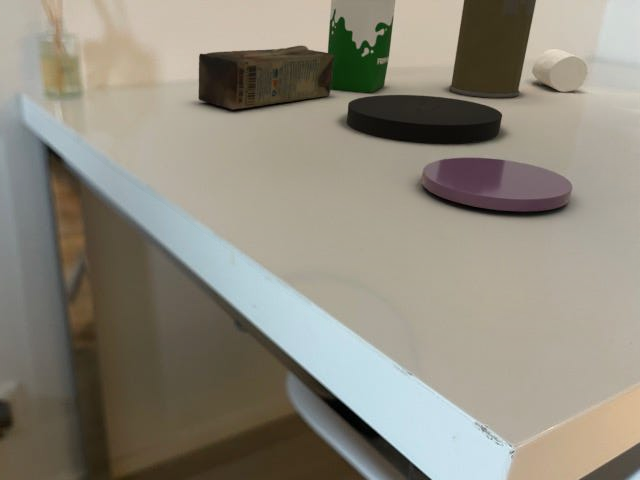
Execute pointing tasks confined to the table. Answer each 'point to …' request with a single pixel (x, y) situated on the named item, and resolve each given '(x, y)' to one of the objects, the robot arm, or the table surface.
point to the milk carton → (360, 43)
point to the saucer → (496, 184)
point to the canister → (492, 47)
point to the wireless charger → (424, 119)
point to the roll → (560, 70)
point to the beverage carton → (264, 76)
